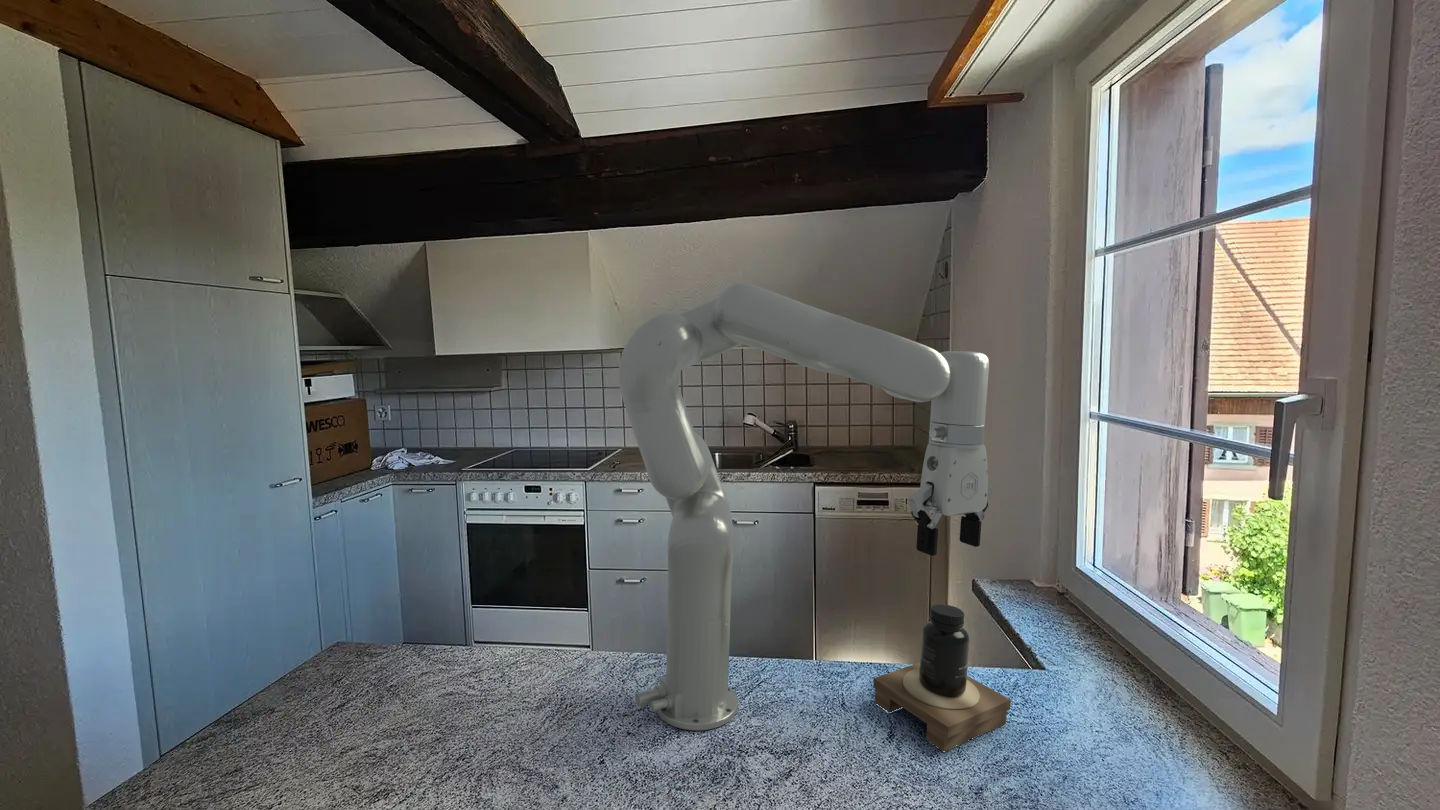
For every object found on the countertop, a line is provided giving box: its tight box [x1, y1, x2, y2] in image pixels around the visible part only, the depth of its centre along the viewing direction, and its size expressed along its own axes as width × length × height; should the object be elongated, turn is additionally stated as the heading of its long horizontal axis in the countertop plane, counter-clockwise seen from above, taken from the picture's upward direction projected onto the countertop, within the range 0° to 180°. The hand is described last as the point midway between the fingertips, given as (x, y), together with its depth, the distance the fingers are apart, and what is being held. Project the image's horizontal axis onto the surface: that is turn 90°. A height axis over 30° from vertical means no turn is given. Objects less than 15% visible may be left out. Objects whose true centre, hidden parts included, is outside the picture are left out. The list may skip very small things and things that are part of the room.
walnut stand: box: [872, 661, 1012, 752], centre depth 91 cm, size 14×14×4 cm
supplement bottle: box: [919, 603, 971, 697], centre depth 90 cm, size 7×7×12 cm
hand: (948, 548), depth 89 cm, fingers open, 9 cm apart
